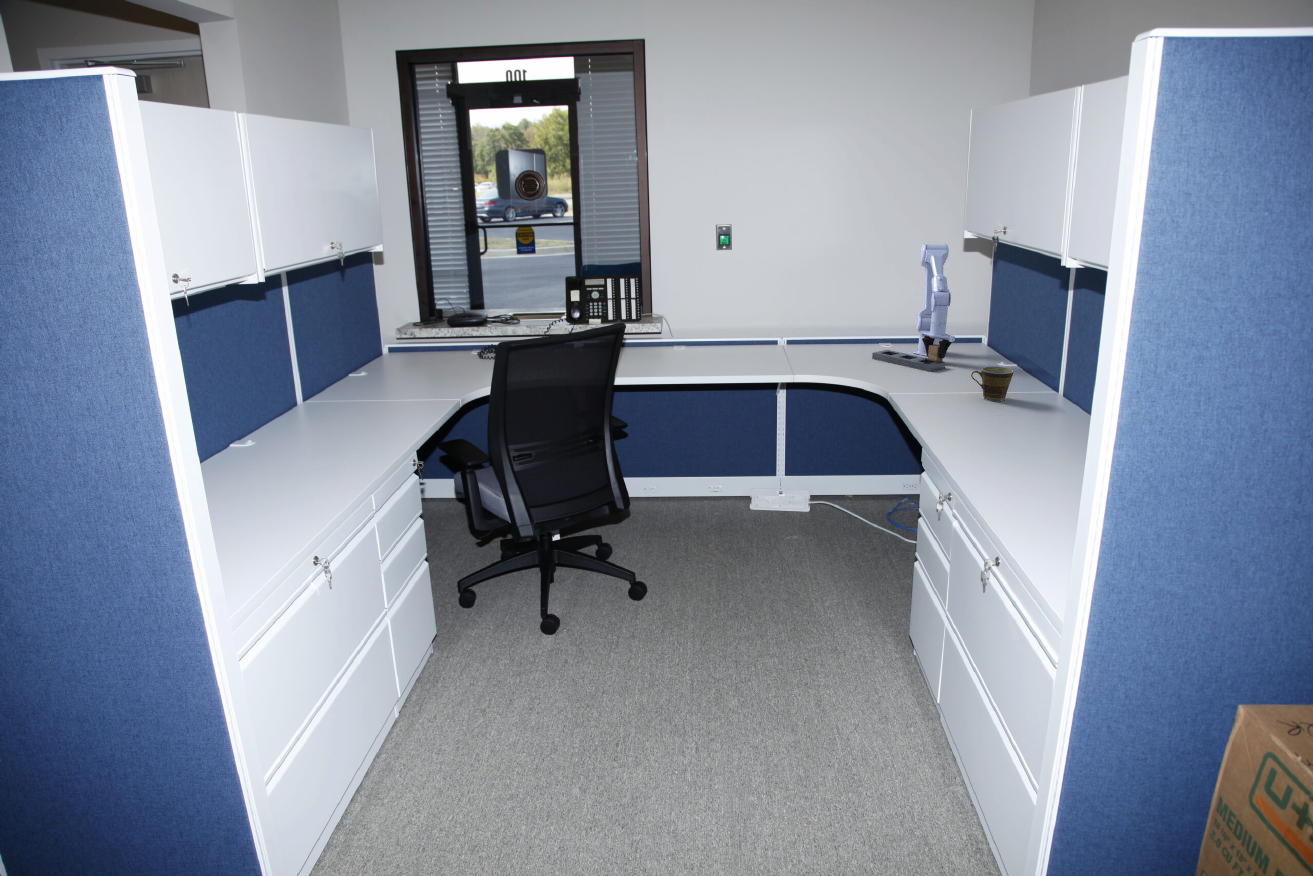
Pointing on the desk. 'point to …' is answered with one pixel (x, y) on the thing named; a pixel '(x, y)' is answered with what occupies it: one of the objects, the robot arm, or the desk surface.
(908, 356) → the grey square hole board
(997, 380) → the ceramic cup
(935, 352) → the square peg
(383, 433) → the desk surface
